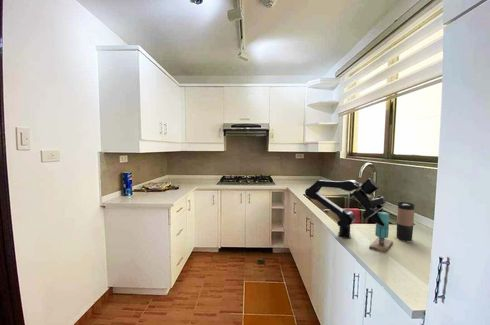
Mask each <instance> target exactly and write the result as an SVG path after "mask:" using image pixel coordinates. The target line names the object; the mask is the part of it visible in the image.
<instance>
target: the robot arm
mask: <svg viewBox="0 0 490 325" xmlns="http://www.w3.org/2000/svg"><path fill="white" fill-rule="evenodd" d="M322 188H334V189H340V190H343V191H347V192H349V199H350V198H353V197H354V198H355V200H356V201H357V202H358V203H359V207H363V209H364V210H365V211H364V212H363V213H362V214H361V216H362V217H363V219H364V220H366V219H367V220H370V221H372V222H374V223H375V224H376V223H378V224H379V225H381V226H384V223H383V222H382V220H381V219H380V217H379V216H378V212H384V207H385V206H384V205H385V204H386V203H387V201H386V198H385V197H384V196H383V195H381V194H380V195H377V197H376V198H372V197H371V196H370V195H372V194H373V193H375V192H377V191H378V190H379V189H380V186H379V185H378V183H377V182H375V181H373V180H372V179H371V178H367V179H366V180H365V181H364V182H363V183H360V182H357V180H354V179H349V180H341V181H340V180H324V179H318V180H316V181H315V182H314V183H313V184H312V185H310V186H309V187H308V188H305V190H304V194H305V197H307V198H309V199H311V200H314V201H317V202H318V203H320V204H321V205H323V206H324V207H325V208H327V209H328V210H329V211H331V212H332V213H333V214H334V215H336V216H337V217H338V219H339V220H338V221H337V226H338V227H339V230H338V231H337V232H338V237H340V238H346V239H351V238H352V235H351V225H352V224H353V223H355V221H356V219H357V218H356V215H355V214H354V212H353V211H351V210H350V209H349V208H344V209H343V208H341V207H340V206H339V205H337V204H335V203H334V202H333V201H332V200H330V199H328V198H327V196H326V197H325V196H324V195H323V194H322V193H321V189H322ZM358 189H359V190H358ZM369 196H370V197H369Z"/></svg>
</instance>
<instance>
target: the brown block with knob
mask: <svg viewBox="0 0 490 325" xmlns="http://www.w3.org/2000/svg"><path fill="white" fill-rule="evenodd" d="M393 242H394V241H393V240H391V239H388V238H381V237H377V238H376V239H375V240H374V241H373V242H371V244H370V245H369V249H370V250H374V251H377V252H381V253H386V252H387V251H388V250H389V248H390V247H391V246H392V244H393Z"/></svg>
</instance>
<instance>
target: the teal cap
mask: <svg viewBox="0 0 490 325" xmlns="http://www.w3.org/2000/svg"><path fill="white" fill-rule="evenodd" d="M378 216H379V217H380V219H381V220H382V222H383V223H384V226H381V225H379V224H378V223H376V222H375V232H374V233H375V234H374V235H375V237H377V238H378V237H381V238H384V239H388V238H389V232H390V231H389V228H390V225H389V224H390V213H388V212H384V211H383V212H378Z"/></svg>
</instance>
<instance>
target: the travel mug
mask: <svg viewBox="0 0 490 325" xmlns="http://www.w3.org/2000/svg"><path fill="white" fill-rule="evenodd" d="M414 219H415V204H414V203H410V202H403V201H402V202H398V203H397V214H396V239H398V240H400V241H403V242H411V241H413V233H414V224H415V223H414V221H415V220H414Z"/></svg>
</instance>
